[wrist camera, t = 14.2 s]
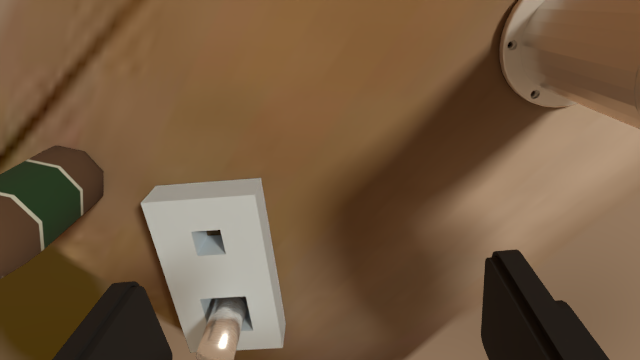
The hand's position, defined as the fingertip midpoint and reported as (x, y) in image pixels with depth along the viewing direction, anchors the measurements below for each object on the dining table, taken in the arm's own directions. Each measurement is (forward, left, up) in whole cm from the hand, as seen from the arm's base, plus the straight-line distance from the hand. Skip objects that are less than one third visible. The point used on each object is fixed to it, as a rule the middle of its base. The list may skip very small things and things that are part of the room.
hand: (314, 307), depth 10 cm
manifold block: (+14, +21, -31) cm, 39 cm away
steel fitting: (+14, +26, -31) cm, 42 cm away
